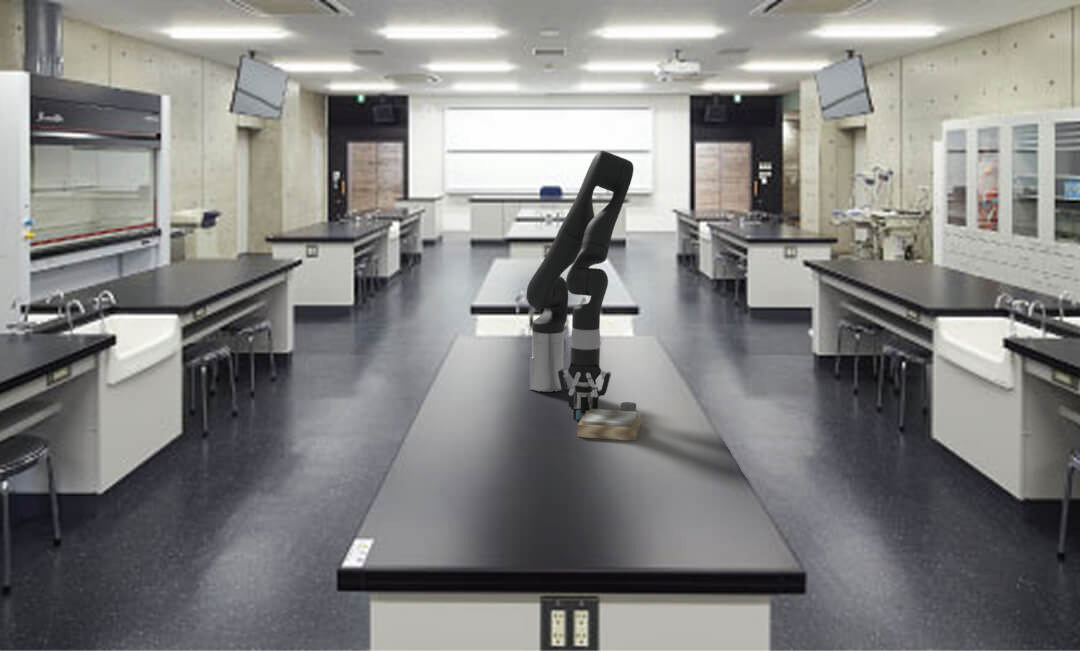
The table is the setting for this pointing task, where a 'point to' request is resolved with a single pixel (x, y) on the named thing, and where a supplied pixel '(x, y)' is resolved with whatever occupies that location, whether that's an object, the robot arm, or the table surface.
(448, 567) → the table surface
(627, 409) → the rubber stopper
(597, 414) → the base block
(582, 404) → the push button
